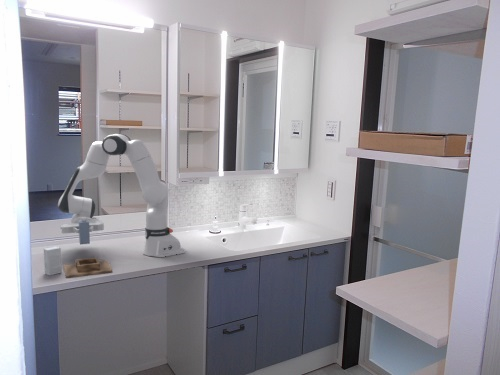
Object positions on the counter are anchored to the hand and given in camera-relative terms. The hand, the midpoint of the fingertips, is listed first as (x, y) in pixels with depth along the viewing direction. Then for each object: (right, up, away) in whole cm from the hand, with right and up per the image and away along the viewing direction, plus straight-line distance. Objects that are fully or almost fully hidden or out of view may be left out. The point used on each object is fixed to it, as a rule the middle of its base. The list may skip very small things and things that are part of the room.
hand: (84, 230), depth 206 cm
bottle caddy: (+5, -18, -9) cm, 21 cm away
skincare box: (-8, -18, -15) cm, 25 cm away
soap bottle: (-1, -6, +2) cm, 7 cm away
